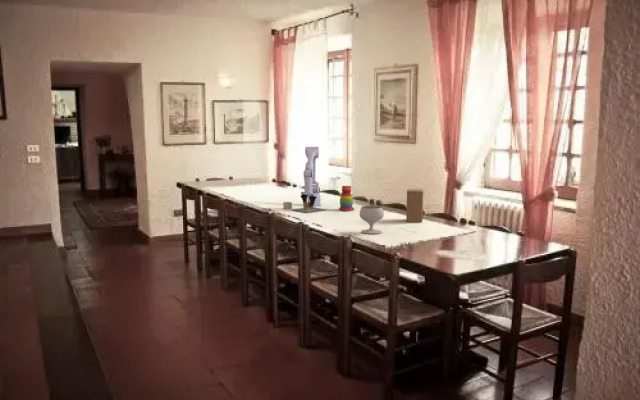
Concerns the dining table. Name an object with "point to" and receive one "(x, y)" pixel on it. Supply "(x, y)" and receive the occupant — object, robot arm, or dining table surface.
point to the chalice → (371, 217)
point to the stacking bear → (346, 199)
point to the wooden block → (414, 205)
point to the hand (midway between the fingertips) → (308, 205)
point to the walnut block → (307, 206)
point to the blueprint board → (308, 210)
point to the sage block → (287, 205)
